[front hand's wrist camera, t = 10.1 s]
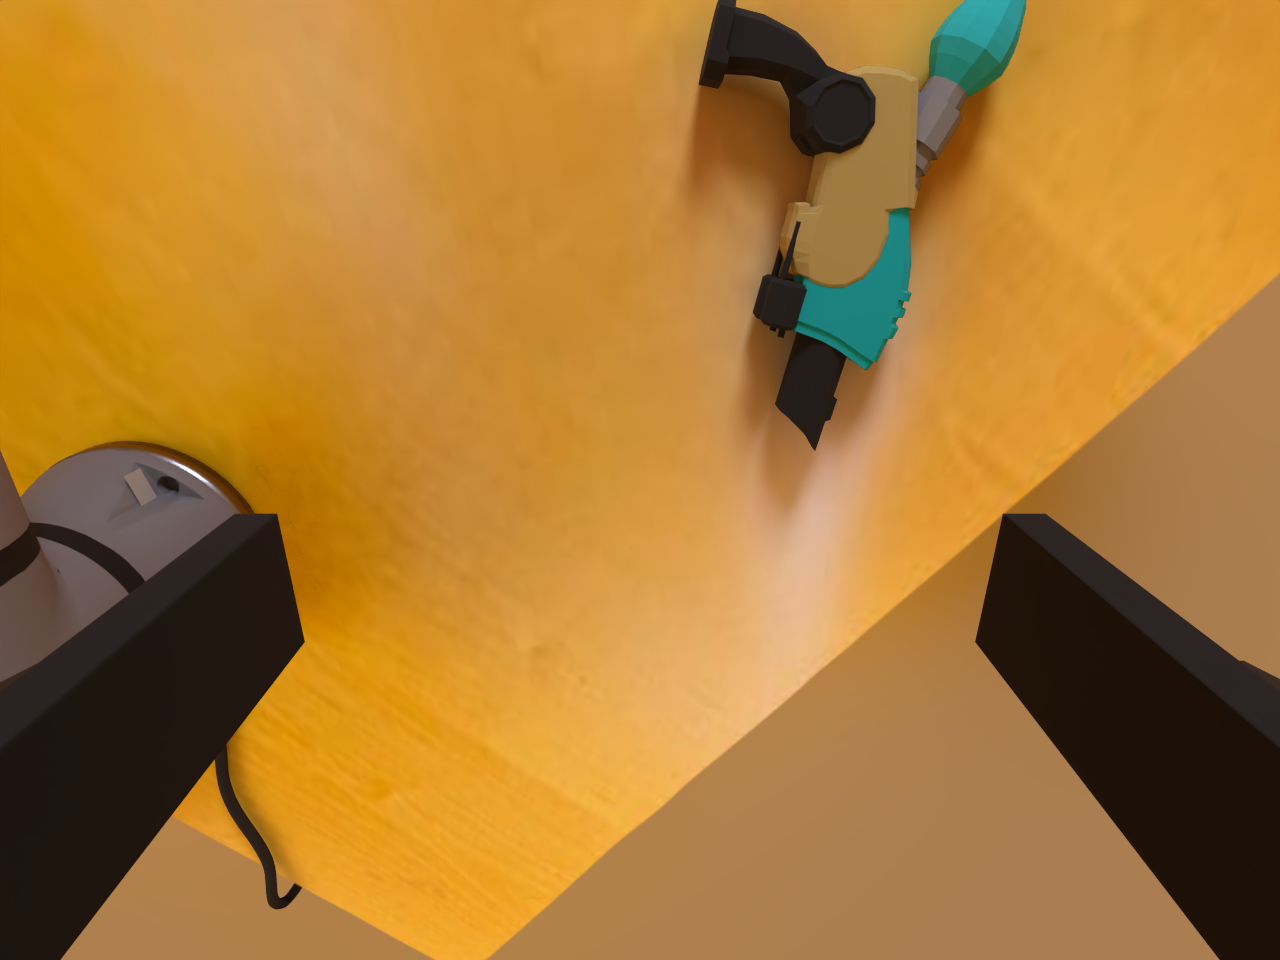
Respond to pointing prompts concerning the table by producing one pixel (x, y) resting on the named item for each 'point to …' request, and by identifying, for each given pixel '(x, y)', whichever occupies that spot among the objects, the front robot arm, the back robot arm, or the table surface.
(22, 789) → the front robot arm
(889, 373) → the table surface
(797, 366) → the toy gun
